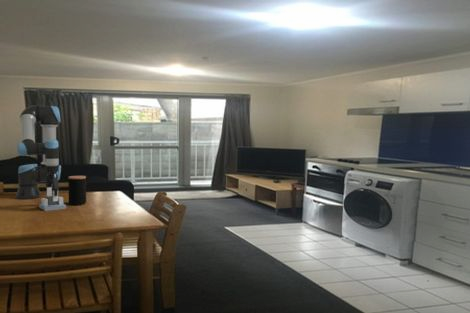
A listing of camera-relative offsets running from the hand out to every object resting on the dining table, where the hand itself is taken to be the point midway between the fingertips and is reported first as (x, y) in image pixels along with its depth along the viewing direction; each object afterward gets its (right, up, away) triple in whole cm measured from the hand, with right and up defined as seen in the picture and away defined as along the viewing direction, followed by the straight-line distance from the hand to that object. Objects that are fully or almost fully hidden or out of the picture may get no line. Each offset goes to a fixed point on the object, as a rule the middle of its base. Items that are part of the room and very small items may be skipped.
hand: (52, 199), depth 230 cm
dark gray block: (0, -3, 0) cm, 3 cm away
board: (0, -5, 0) cm, 5 cm away
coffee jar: (+10, -5, +13) cm, 17 cm away
